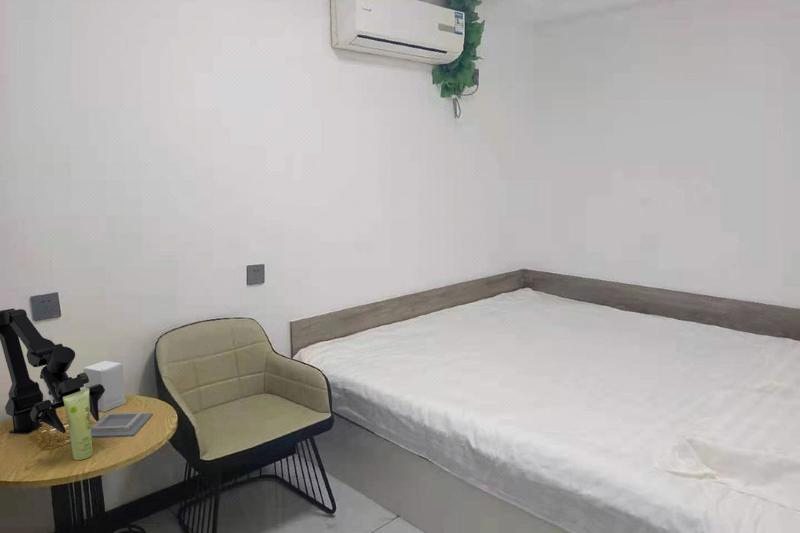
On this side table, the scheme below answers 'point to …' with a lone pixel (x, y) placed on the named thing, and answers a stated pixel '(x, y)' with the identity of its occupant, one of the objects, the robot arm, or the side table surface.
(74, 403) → the tube
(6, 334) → the robot arm
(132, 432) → the mat
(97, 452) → the side table surface
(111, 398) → the supplement box
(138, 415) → the collar
